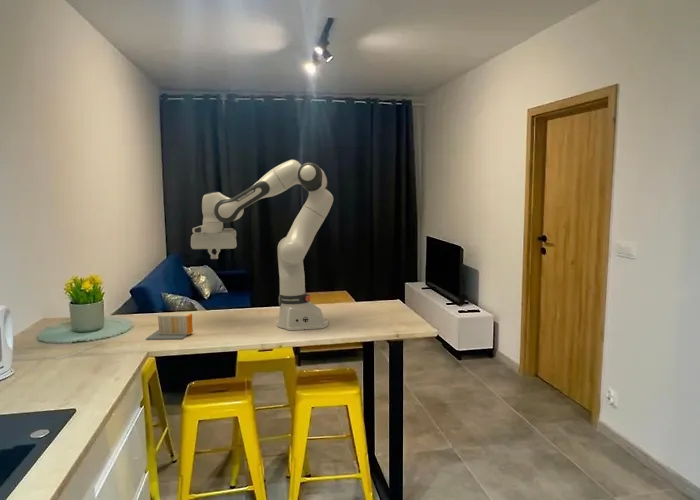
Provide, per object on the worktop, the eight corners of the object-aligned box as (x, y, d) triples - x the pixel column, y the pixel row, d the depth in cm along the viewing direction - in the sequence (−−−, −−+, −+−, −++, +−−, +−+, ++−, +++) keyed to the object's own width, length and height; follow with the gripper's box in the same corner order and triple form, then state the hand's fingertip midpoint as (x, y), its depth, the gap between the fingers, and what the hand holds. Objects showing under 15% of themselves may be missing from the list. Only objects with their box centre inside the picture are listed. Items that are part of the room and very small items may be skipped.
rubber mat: (192, 330, 222) (192, 329, 222) (182, 339, 209) (182, 338, 209) (158, 331, 222) (158, 329, 222) (145, 339, 209) (145, 338, 209)
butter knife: (52, 358, 188) (57, 359, 186) (111, 341, 208) (115, 341, 207) (52, 359, 188) (57, 360, 186) (111, 342, 208) (115, 342, 207)
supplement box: (192, 313, 217) (162, 312, 218) (188, 316, 212) (157, 315, 213) (193, 332, 218) (163, 331, 219) (189, 335, 213) (158, 334, 214)
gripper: (237, 227, 235) (238, 257, 237) (193, 228, 235) (194, 258, 237) (234, 228, 229) (235, 259, 230) (188, 229, 229) (190, 259, 231)
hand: (214, 258), depth 234 cm, fingers closed
